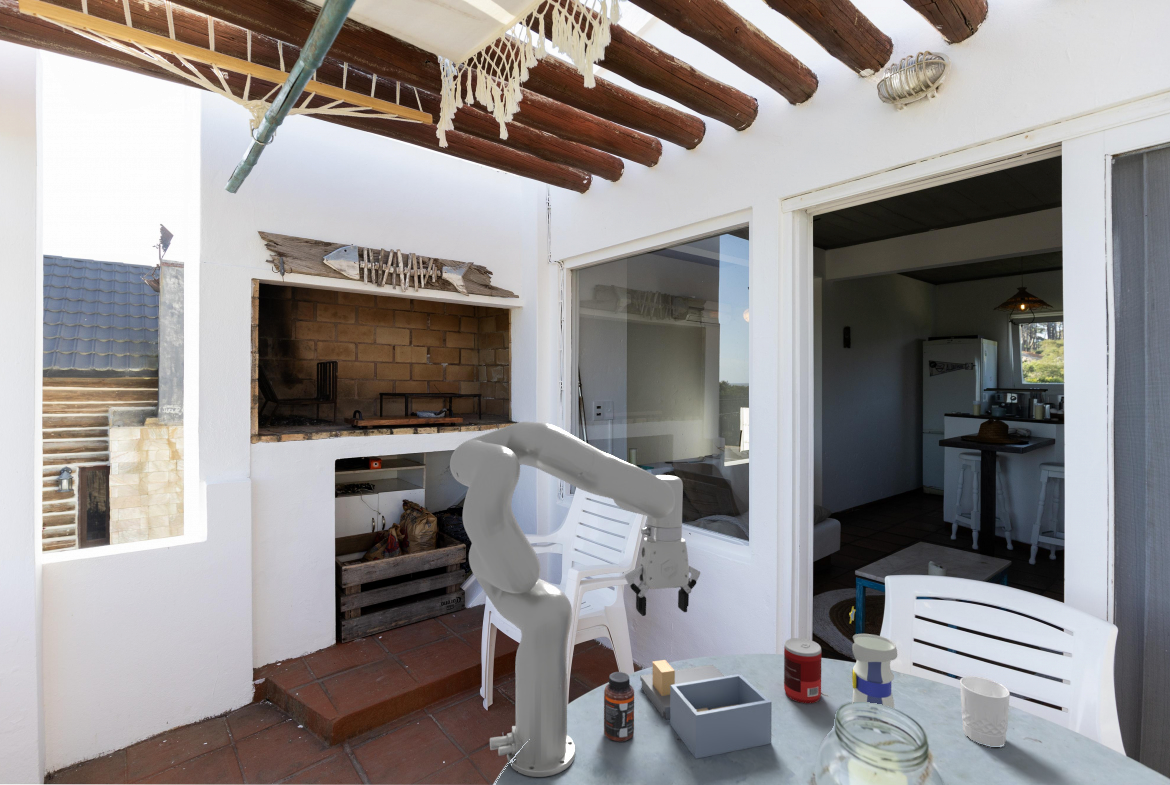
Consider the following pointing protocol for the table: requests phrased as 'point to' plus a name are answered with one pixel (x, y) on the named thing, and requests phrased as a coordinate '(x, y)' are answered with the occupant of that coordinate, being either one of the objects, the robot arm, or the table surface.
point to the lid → (672, 682)
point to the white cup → (984, 710)
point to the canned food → (802, 670)
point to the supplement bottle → (619, 707)
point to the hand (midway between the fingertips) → (662, 611)
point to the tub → (720, 715)
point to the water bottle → (872, 668)
